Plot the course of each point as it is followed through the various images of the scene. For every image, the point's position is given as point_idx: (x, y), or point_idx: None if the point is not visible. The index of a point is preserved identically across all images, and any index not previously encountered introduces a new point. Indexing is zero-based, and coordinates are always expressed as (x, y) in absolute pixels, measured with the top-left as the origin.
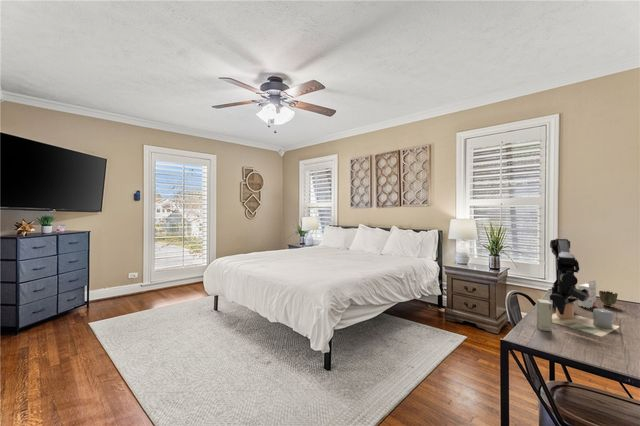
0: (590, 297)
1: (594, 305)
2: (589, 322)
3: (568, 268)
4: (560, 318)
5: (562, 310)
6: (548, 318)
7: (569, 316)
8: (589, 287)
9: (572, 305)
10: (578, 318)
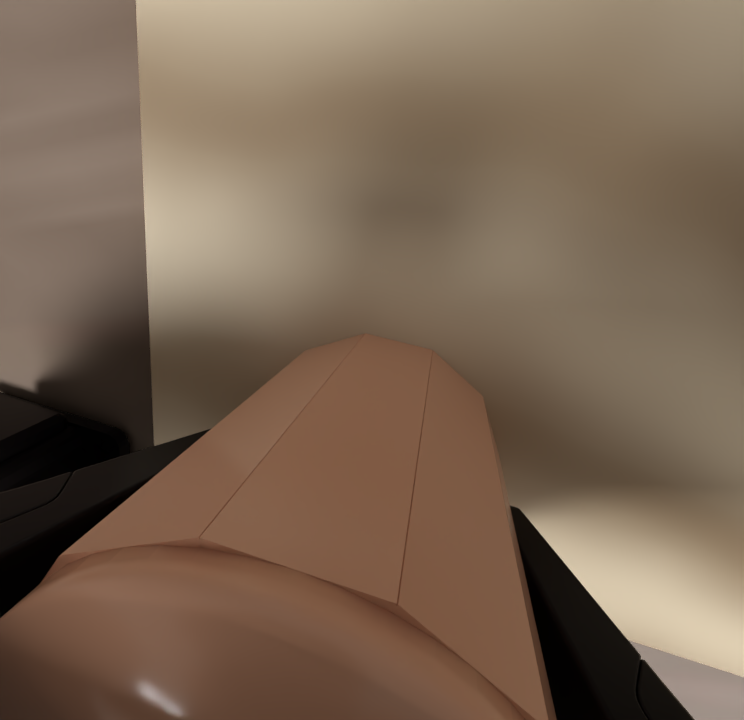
0: None
1: None
2: (445, 30)
3: None
4: (591, 494)
5: (588, 612)
6: None
7: (468, 400)
8: None
9: (390, 581)
10: (320, 261)
